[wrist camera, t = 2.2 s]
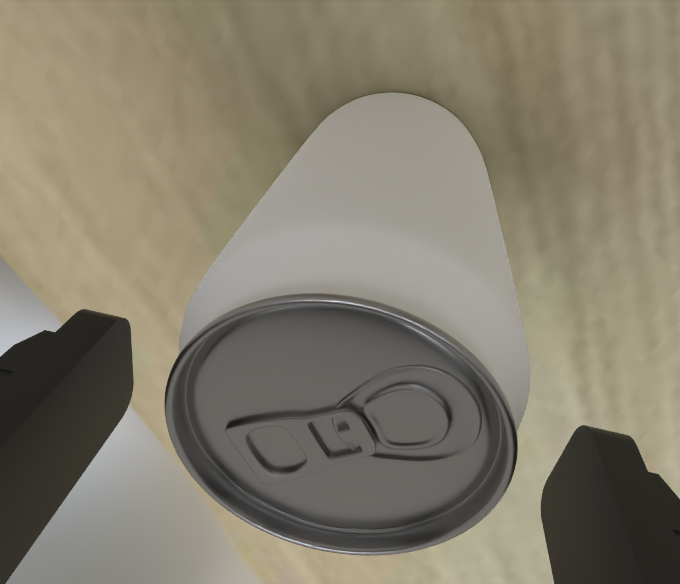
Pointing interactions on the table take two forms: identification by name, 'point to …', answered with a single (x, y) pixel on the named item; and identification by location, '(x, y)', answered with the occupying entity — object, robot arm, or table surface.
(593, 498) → the robot arm
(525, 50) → the table surface
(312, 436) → the can
